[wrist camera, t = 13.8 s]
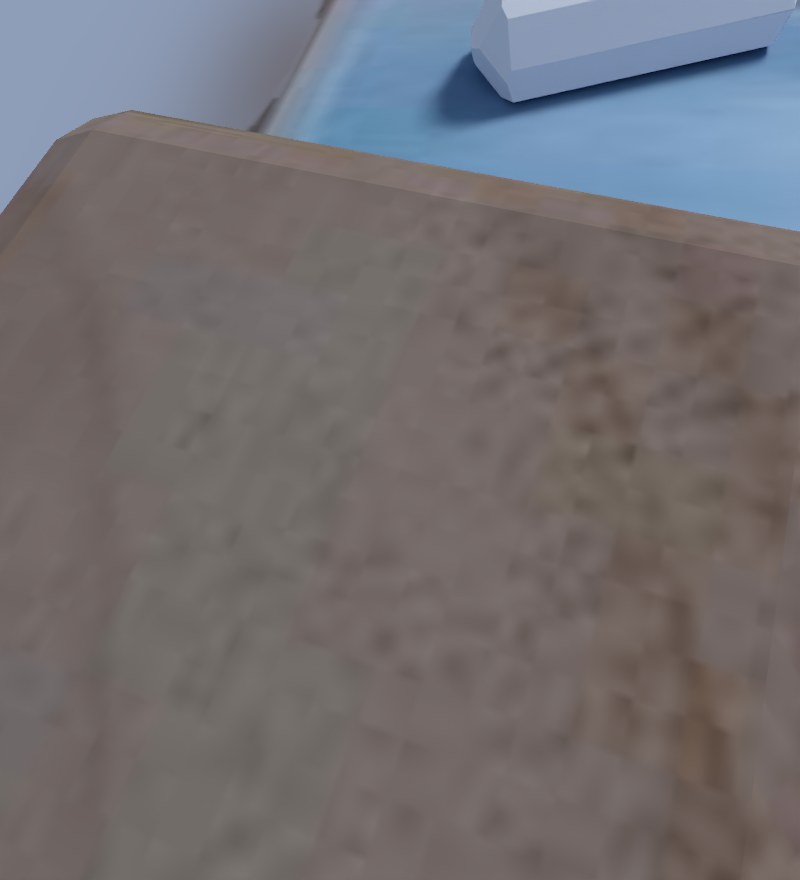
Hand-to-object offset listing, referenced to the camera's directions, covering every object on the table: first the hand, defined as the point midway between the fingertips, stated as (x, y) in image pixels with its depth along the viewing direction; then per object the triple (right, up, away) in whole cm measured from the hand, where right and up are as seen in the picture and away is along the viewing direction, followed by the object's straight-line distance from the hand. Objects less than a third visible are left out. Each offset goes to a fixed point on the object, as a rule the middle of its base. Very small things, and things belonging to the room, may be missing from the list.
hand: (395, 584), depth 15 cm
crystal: (+17, +33, +37) cm, 52 cm away
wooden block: (+1, -6, +9) cm, 11 cm away
